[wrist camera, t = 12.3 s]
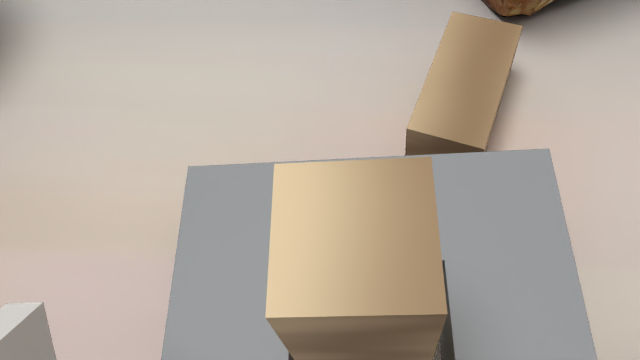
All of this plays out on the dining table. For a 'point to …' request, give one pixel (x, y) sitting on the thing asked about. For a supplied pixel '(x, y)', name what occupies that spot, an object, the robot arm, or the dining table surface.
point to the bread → (516, 6)
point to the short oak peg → (463, 87)
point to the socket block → (456, 250)
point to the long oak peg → (356, 260)
